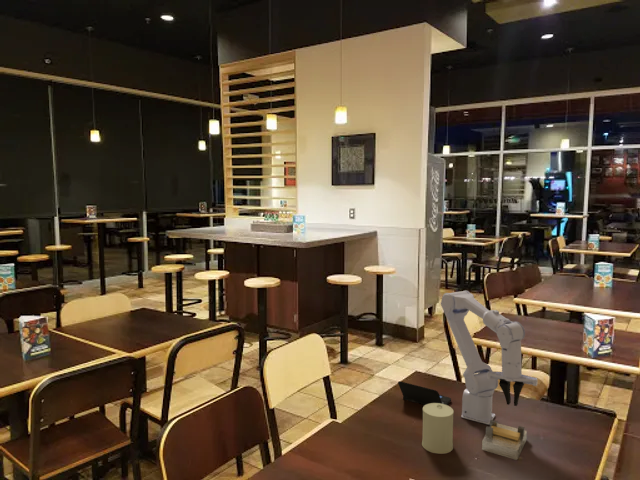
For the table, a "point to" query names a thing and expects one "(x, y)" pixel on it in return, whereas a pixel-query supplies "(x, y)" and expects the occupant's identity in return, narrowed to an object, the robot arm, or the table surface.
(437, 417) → the can
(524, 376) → the robot arm
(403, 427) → the table surface
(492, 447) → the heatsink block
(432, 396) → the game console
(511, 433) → the golden yellow flat bar
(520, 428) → the lug
